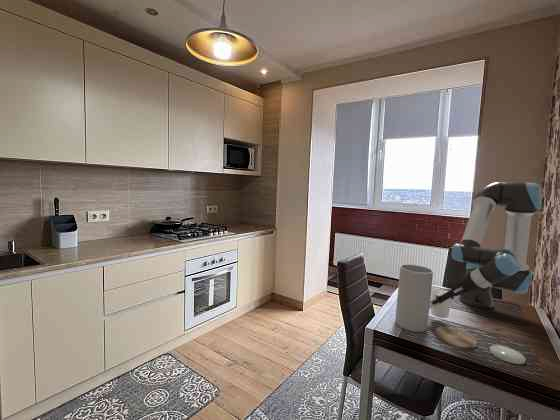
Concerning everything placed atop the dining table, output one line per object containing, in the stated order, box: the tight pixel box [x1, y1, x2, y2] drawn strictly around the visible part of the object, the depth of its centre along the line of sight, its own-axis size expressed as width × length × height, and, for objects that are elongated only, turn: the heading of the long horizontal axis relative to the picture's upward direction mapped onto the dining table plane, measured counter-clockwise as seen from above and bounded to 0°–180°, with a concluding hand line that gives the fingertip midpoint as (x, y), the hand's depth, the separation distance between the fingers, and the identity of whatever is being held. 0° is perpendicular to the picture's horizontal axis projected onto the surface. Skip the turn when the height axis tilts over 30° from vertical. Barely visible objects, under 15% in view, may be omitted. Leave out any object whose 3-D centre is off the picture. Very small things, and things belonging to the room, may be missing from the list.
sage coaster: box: [489, 344, 526, 365], centre depth 103 cm, size 10×10×1 cm
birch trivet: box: [435, 326, 478, 349], centre depth 113 cm, size 14×14×1 cm
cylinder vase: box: [394, 263, 434, 333], centre depth 121 cm, size 12×12×25 cm
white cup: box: [430, 289, 452, 319], centre depth 126 cm, size 8×8×10 cm
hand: (432, 304), depth 129 cm, fingers closed on white cup, 8 cm apart
